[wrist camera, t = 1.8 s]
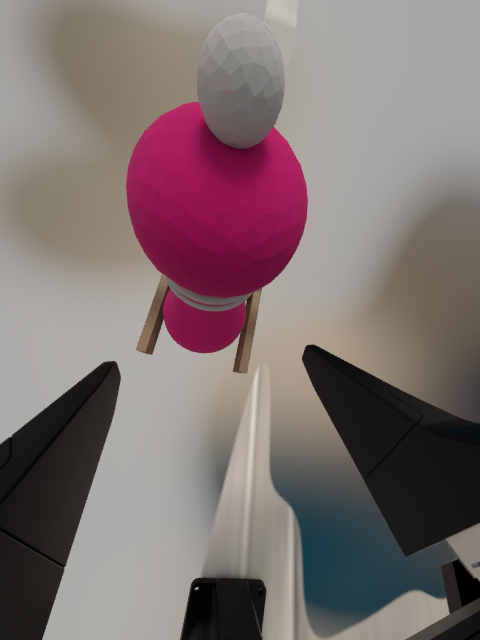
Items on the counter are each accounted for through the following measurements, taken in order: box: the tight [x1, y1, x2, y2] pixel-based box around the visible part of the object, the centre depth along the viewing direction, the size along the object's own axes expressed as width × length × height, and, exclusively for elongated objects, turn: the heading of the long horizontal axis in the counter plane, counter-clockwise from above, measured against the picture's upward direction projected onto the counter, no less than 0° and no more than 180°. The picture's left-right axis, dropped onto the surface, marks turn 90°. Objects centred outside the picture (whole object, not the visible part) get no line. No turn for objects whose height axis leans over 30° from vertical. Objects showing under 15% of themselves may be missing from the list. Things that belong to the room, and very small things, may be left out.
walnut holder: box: [136, 274, 262, 373], centre depth 21 cm, size 9×10×3 cm
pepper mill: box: [126, 13, 308, 353], centre depth 13 cm, size 7×7×20 cm
